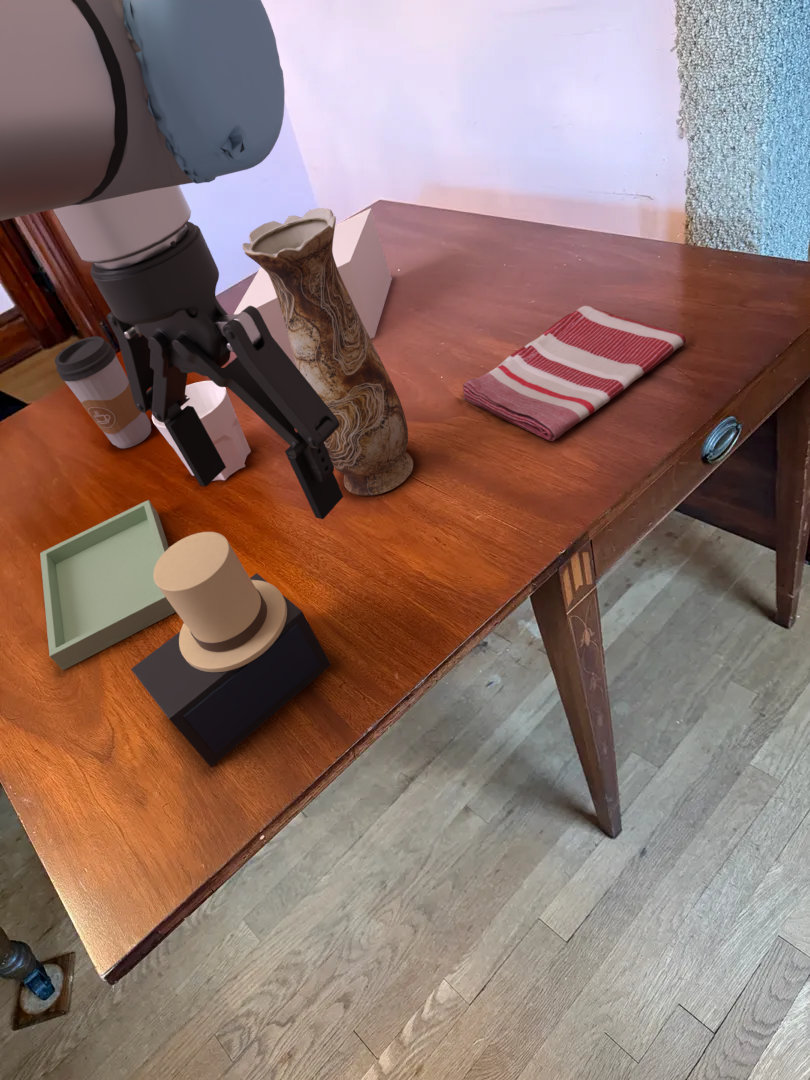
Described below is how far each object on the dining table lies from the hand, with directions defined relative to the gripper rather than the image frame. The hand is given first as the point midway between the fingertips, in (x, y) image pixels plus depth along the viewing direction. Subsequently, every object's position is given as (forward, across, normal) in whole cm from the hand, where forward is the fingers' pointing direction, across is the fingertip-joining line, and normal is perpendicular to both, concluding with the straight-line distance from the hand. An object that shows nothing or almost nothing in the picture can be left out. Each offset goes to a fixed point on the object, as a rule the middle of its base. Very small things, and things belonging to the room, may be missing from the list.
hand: (268, 491), depth 62 cm
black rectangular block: (+18, +4, +9) cm, 21 cm away
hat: (+10, +3, +8) cm, 13 cm away
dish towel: (+19, -4, -45) cm, 49 cm away
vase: (+19, +11, -22) cm, 31 cm away
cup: (+19, +34, -17) cm, 43 cm away
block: (+19, +39, -50) cm, 66 cm away
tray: (+18, +31, +5) cm, 37 cm away
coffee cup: (+19, +55, -18) cm, 61 cm away
